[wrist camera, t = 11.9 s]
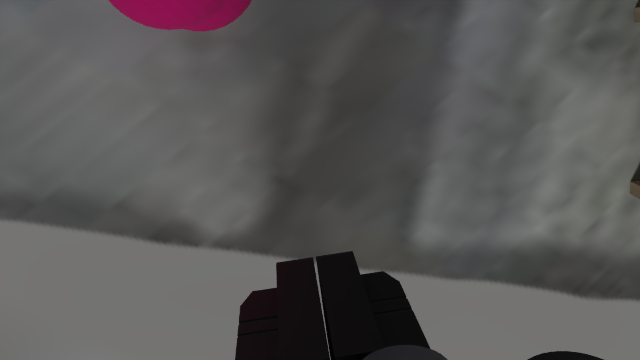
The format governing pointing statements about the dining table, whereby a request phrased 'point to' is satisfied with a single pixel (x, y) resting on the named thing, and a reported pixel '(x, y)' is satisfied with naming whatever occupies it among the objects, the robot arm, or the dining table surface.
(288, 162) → the dining table surface
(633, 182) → the birch holder
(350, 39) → the dining table surface
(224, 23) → the pepper mill
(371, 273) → the robot arm
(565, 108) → the dining table surface
